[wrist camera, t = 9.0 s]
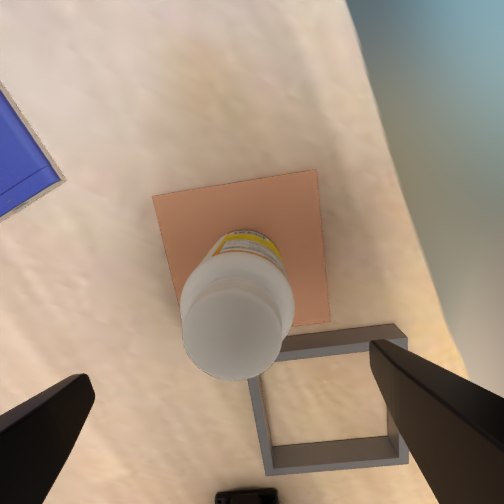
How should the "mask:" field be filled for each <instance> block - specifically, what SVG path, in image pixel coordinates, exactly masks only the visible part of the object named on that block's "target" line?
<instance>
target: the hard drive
mask: <svg viewBox="0 0 504 504" xmlns="http://www.w3.org/2000/svg"><path fill="white" fill-rule="evenodd" d="M65 181H66V179H65V177H64V176H63V174H62V173H61V171H60V170H59V168H58V167H57V165H56V164H55V162H54V161H53V159H52V158H51V156H50V155H49V153H48V152H47V150H46V149H45V147H44V146H43V144H42V143H41V141H40V140H39V138H38V137H37V135H36V134H35V132H34V131H33V129H32V128H31V126H30V125H29V123H28V122H27V121H26V119H25V118H24V116H23V115H22V113H21V112H20V110H19V109H18V107H17V106H16V104H15V103H14V101H13V100H12V98H11V97H10V95H9V94H8V92H7V91H6V89H5V88H4V86H3V85H2V83H1V82H0V222H2V221H3V220H5V219H6V218H8V217H9V216H11V215H13V214H14V213H16V212H17V211H19V210H21V209H22V208H24V207H25V206H27V205H29V204H30V203H32V202H33V201H35V200H36V199H38V198H40V197H41V196H43V195H44V194H46V193H48V192H49V191H51V190H53V189H54V188H56V187H57V186H59V185H61V184H62V183H64V182H65Z"/></svg>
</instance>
